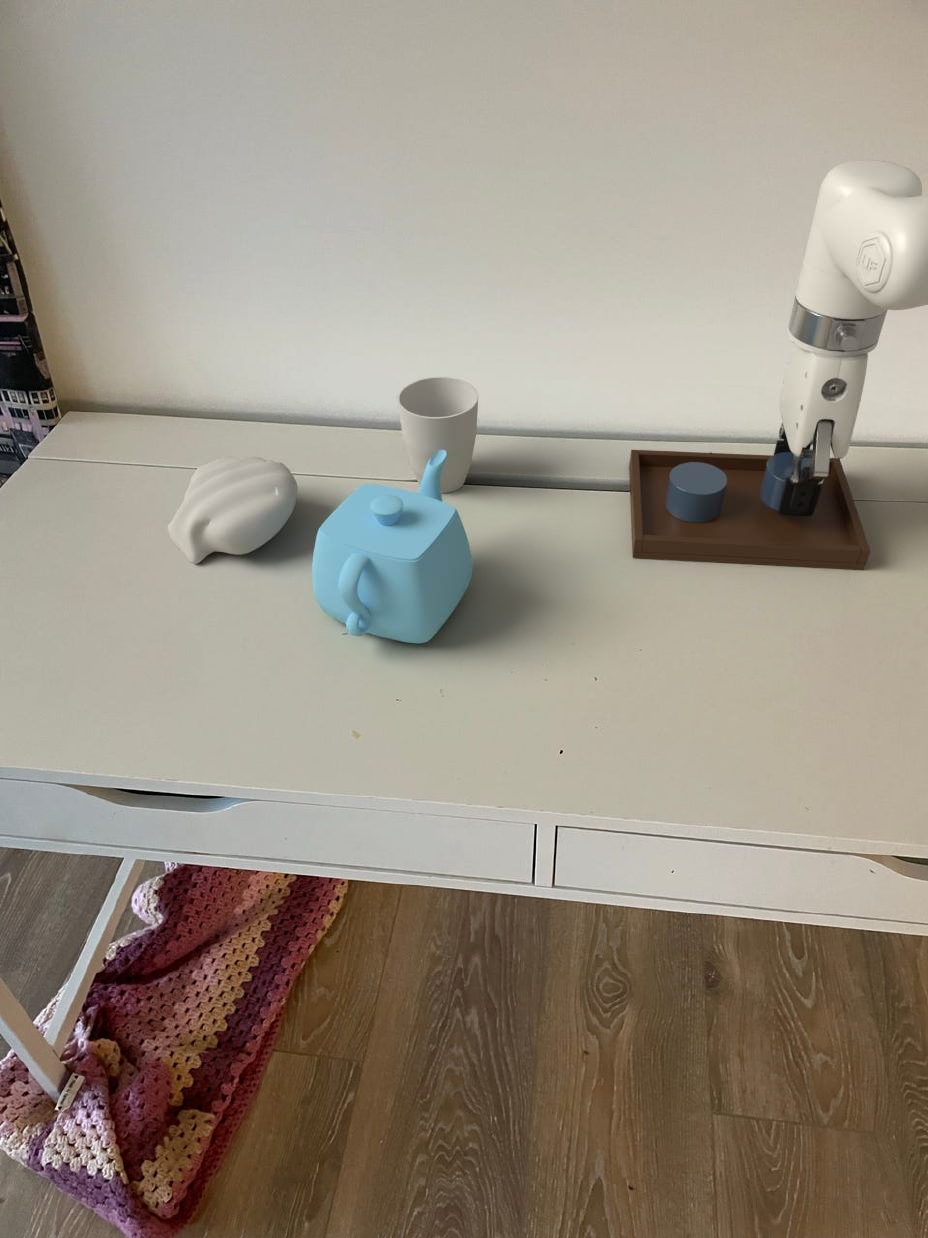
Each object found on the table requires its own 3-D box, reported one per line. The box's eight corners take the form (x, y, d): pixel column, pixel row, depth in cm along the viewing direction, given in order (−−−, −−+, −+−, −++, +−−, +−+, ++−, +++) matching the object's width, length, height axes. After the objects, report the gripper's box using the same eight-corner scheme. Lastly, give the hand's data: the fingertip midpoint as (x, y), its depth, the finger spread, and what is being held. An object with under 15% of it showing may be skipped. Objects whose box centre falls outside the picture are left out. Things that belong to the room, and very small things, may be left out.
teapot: (503, 556, 91) (504, 456, 83) (417, 680, 79) (409, 576, 71) (391, 525, 95) (382, 426, 87) (293, 638, 83) (273, 535, 75)
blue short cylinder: (728, 499, 96) (734, 470, 93) (712, 529, 92) (717, 499, 90) (675, 485, 98) (680, 456, 95) (657, 513, 94) (661, 484, 92)
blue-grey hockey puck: (823, 489, 94) (832, 460, 91) (810, 520, 90) (819, 490, 88) (768, 475, 96) (775, 446, 93) (752, 504, 92) (759, 474, 90)
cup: (489, 466, 102) (488, 383, 96) (464, 508, 97) (462, 423, 90) (419, 453, 104) (414, 371, 98) (392, 494, 99) (384, 410, 92)
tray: (834, 476, 100) (839, 457, 98) (864, 570, 88) (870, 551, 87) (629, 467, 102) (631, 449, 100) (632, 558, 90) (634, 539, 89)
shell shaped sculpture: (307, 491, 100) (298, 438, 95) (298, 567, 90) (289, 512, 86) (183, 497, 99) (169, 444, 95) (162, 574, 90) (146, 520, 85)
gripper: (904, 371, 74) (845, 551, 86) (861, 280, 86) (814, 448, 99) (806, 368, 74) (761, 546, 87) (777, 278, 87) (741, 445, 99)
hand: (790, 493), depth 93 cm, fingers closed on blue-grey hockey puck, 5 cm apart
